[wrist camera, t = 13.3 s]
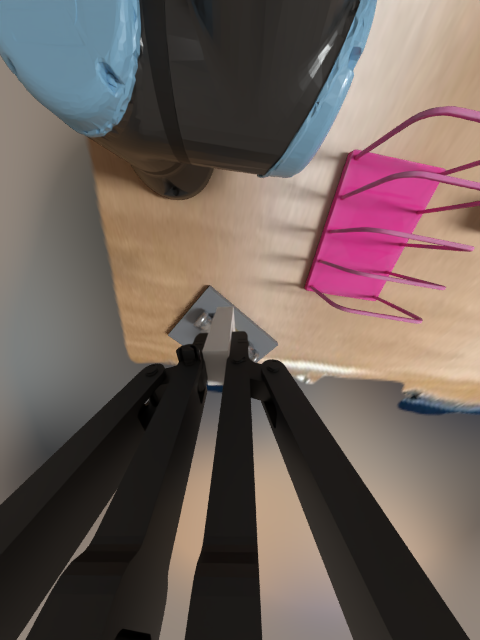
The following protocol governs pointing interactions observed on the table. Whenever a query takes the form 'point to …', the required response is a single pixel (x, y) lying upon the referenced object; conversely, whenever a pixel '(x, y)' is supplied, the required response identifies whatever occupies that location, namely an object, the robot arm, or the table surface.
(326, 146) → the table surface
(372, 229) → the file sorter
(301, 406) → the robot arm
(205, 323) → the valve pipe
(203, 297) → the mounting board
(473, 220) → the table surface
